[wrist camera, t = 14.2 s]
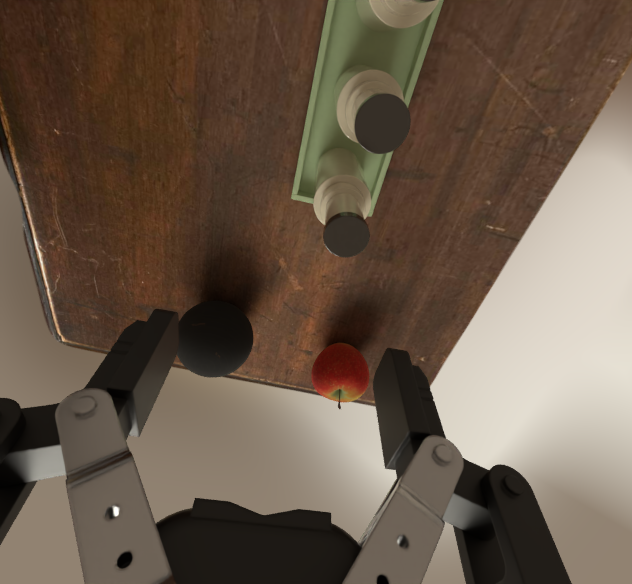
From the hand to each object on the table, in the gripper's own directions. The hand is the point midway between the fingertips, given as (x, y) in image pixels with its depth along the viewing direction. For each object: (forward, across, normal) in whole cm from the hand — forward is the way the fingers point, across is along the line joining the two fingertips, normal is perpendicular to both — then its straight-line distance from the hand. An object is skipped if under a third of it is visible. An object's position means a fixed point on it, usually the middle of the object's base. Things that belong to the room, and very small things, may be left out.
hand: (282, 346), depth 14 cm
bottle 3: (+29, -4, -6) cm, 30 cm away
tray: (+30, -4, -6) cm, 30 cm away
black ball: (+30, +7, +25) cm, 39 cm away
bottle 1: (+29, -4, +1) cm, 29 cm away
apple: (+29, -11, +28) cm, 42 cm away
